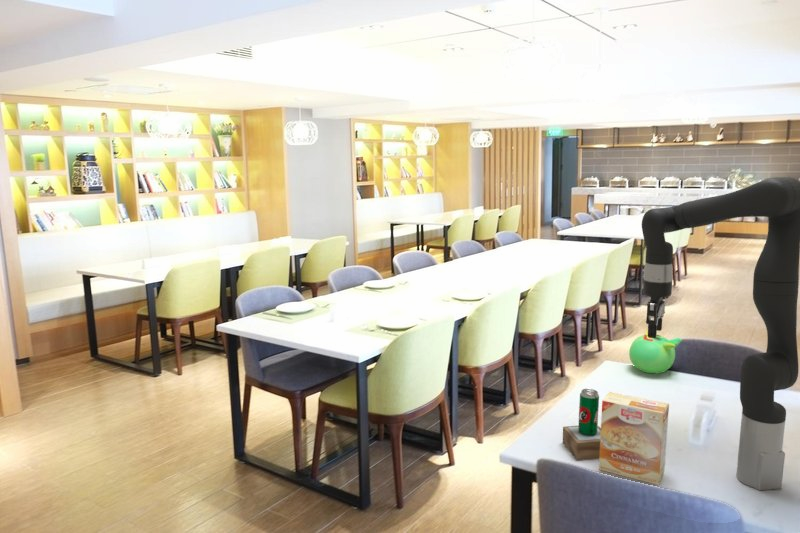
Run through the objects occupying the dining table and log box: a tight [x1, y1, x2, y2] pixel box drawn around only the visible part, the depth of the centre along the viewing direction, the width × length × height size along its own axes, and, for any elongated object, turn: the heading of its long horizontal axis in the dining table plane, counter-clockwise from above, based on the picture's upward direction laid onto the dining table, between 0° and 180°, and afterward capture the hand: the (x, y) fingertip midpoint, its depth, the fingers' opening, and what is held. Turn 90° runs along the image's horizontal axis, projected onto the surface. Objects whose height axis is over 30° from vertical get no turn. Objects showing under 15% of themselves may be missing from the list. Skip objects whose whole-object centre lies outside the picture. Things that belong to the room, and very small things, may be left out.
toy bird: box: [628, 331, 683, 374], centre depth 227 cm, size 18×17×15 cm
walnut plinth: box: [562, 425, 601, 461], centre depth 170 cm, size 10×10×5 cm
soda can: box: [577, 388, 600, 436], centre depth 168 cm, size 5×5×12 cm
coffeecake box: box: [598, 391, 670, 486], centre depth 157 cm, size 15×7×20 cm, turn 56°
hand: (654, 333), depth 175 cm, fingers open, 8 cm apart
